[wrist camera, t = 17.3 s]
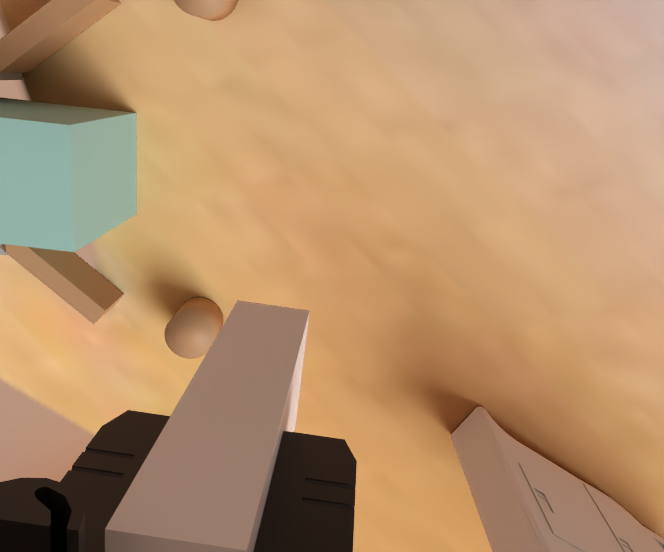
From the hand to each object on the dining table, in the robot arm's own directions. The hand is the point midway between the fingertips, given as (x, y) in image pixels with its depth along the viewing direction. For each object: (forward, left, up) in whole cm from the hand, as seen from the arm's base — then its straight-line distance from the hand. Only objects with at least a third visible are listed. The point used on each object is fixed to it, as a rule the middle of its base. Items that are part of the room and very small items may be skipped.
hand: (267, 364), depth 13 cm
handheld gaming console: (+16, +16, -19) cm, 29 cm away
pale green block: (0, -15, -18) cm, 23 cm away
